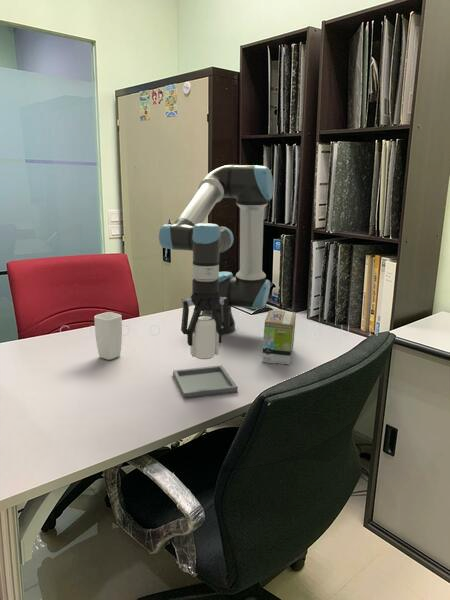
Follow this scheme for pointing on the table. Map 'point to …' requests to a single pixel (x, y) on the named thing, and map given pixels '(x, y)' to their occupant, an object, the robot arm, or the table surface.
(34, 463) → the table surface
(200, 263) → the robot arm
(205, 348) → the can
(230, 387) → the tray
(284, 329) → the tea box
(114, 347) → the cup
